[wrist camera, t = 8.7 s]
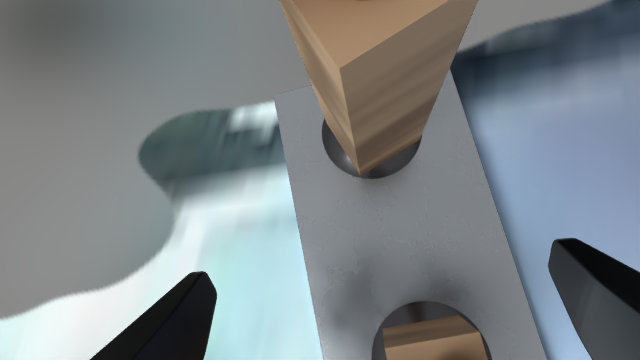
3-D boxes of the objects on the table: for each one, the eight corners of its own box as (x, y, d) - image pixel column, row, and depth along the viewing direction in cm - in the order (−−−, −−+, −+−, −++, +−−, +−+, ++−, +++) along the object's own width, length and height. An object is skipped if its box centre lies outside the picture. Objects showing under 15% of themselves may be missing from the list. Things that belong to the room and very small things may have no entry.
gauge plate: (564, 428, 16) (573, 436, 15) (344, 458, 17) (343, 466, 16) (441, 54, 21) (443, 48, 20) (276, 99, 22) (273, 94, 21)
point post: (419, 140, 19) (516, -90, 6) (360, 176, 19) (331, 26, 6) (381, 88, 20) (396, -205, 7) (326, 122, 20) (239, -103, 7)
